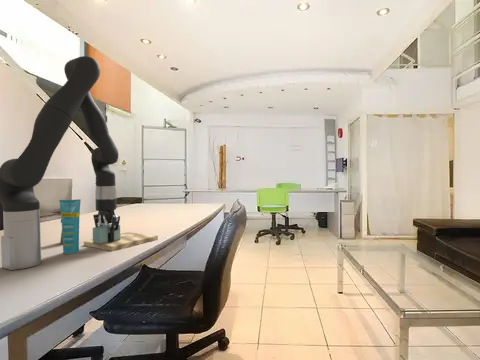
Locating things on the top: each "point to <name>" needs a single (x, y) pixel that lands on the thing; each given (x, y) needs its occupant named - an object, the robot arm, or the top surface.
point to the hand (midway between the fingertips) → (107, 240)
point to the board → (124, 241)
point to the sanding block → (104, 235)
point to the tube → (70, 225)
